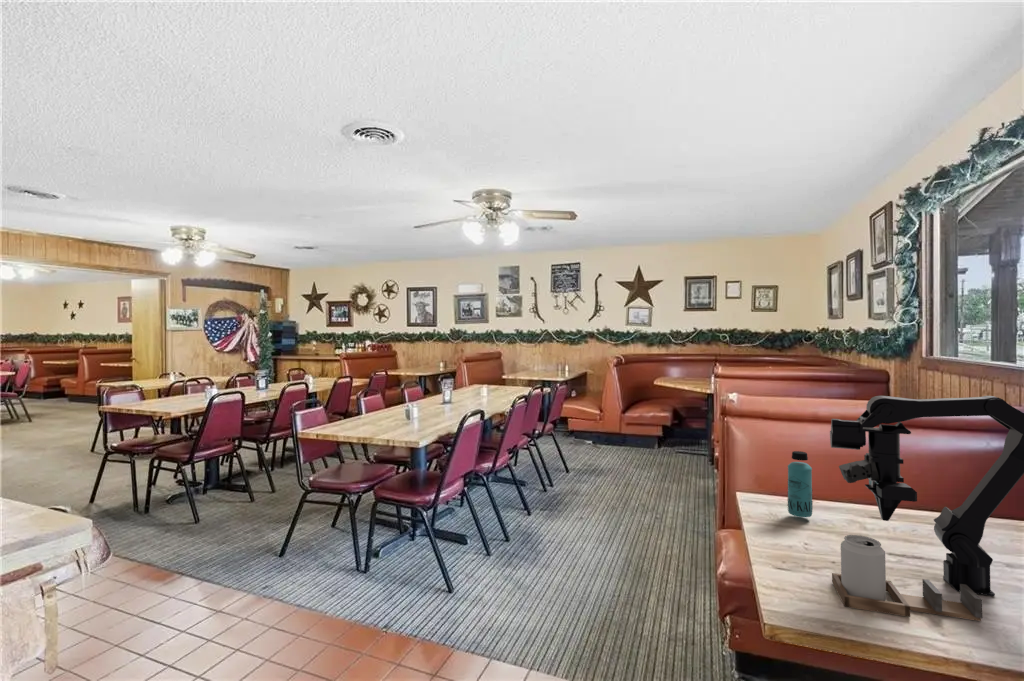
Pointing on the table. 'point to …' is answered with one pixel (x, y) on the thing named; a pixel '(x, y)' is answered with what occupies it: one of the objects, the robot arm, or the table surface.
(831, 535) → the table surface
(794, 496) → the beverage bottle
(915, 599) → the wooden frame
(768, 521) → the table surface
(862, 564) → the can
